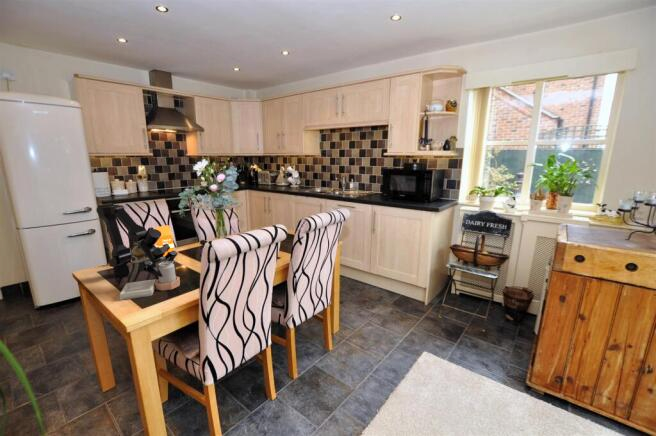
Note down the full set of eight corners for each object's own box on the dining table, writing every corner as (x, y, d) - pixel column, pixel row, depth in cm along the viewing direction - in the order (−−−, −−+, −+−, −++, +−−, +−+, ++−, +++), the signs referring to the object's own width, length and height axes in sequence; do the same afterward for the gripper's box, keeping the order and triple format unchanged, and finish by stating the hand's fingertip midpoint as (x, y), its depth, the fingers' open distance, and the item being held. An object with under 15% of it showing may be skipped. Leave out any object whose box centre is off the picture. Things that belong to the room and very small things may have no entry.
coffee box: (131, 263, 183) (128, 237, 179) (132, 260, 188) (129, 235, 185) (149, 261, 187) (145, 235, 183) (149, 258, 192) (146, 233, 189)
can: (169, 289, 148) (166, 266, 146) (156, 288, 150) (153, 265, 147) (179, 283, 155) (177, 260, 153) (167, 281, 157) (164, 259, 154)
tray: (120, 300, 138) (119, 294, 137) (127, 288, 149) (126, 283, 149) (152, 295, 142) (151, 289, 142) (156, 284, 154) (155, 279, 153)
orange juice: (155, 257, 194) (151, 226, 190) (169, 253, 201) (166, 224, 196) (160, 259, 189) (156, 228, 185) (175, 256, 196) (171, 226, 191)
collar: (154, 291, 146) (154, 285, 145) (158, 283, 156) (157, 277, 155) (178, 288, 150) (178, 282, 149) (180, 280, 159) (179, 274, 159)
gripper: (138, 245, 141) (158, 271, 139) (173, 235, 158) (191, 258, 156) (129, 259, 145) (148, 284, 144) (164, 248, 162) (181, 270, 160)
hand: (168, 273), depth 151 cm, fingers closed on can, 7 cm apart
